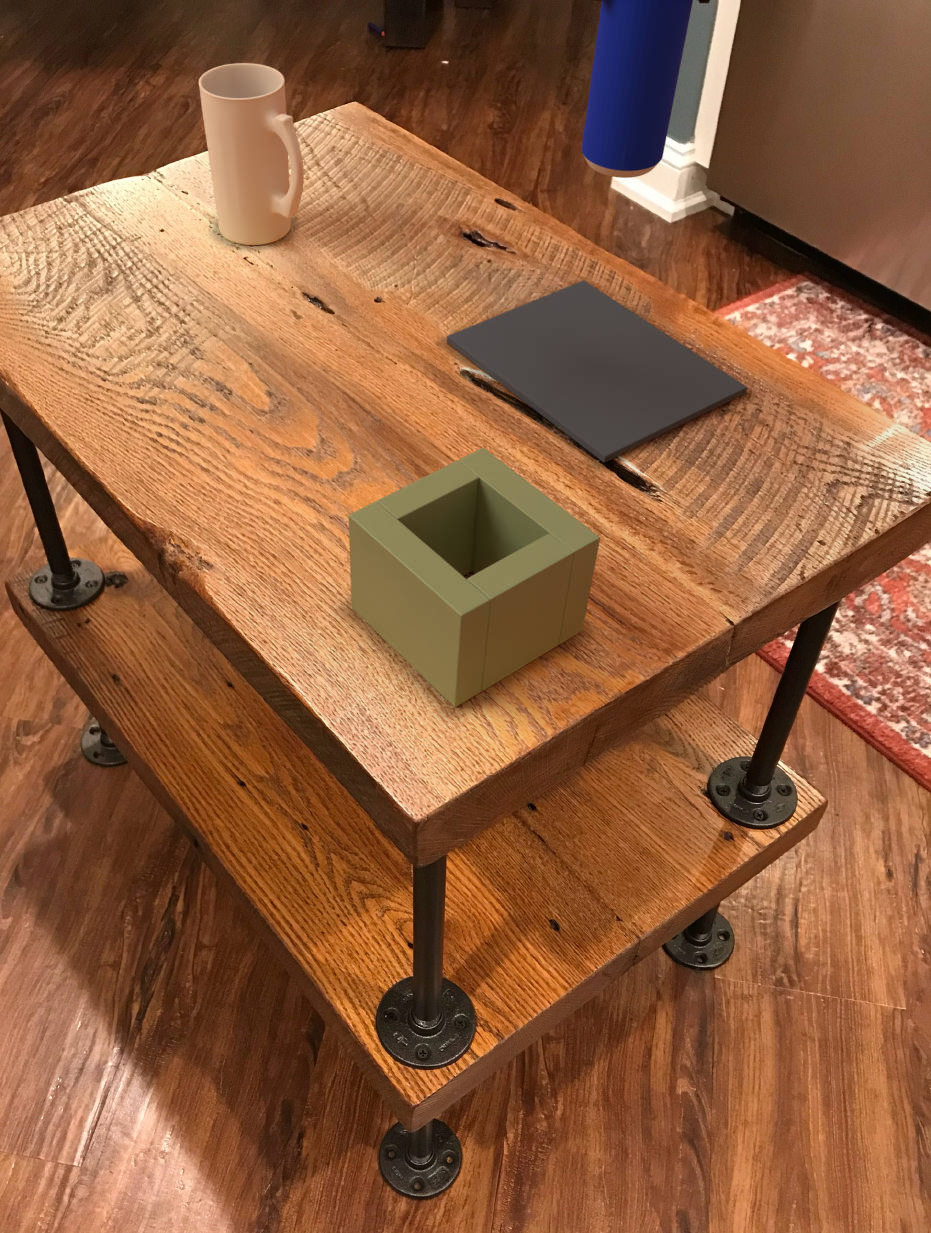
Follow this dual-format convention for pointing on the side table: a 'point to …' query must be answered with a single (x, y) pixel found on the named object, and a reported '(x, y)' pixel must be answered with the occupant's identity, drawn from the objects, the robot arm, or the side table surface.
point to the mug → (251, 152)
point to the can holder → (456, 545)
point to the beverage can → (633, 84)
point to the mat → (596, 369)
